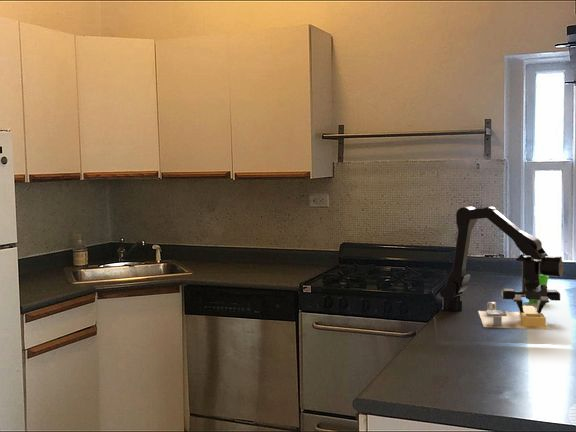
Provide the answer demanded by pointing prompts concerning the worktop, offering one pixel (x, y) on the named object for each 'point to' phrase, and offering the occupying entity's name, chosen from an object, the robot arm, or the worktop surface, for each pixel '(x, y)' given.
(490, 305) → the pintle
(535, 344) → the worktop surface
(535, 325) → the link
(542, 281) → the cup
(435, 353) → the worktop surface
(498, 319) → the keeper
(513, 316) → the board
